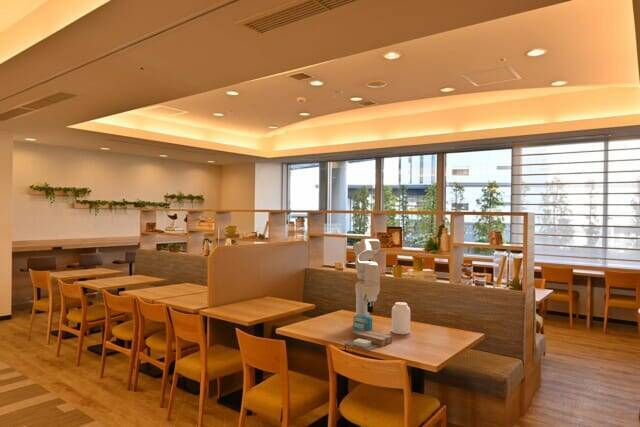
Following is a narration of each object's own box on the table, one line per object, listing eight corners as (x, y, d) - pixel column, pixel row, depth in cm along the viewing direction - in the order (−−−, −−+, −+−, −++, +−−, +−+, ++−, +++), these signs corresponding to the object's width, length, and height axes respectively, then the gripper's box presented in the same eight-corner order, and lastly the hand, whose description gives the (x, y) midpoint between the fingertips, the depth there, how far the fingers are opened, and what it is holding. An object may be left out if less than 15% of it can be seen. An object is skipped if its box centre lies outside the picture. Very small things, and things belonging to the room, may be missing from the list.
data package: (353, 333, 292) (353, 315, 291) (355, 331, 295) (356, 314, 295) (369, 336, 286) (369, 318, 286) (372, 334, 290) (372, 316, 289)
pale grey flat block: (353, 340, 266) (353, 344, 266) (365, 343, 261) (365, 347, 261) (359, 338, 271) (359, 342, 271) (371, 341, 265) (371, 345, 265)
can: (413, 332, 296) (414, 303, 296) (401, 335, 288) (402, 305, 288) (399, 328, 305) (400, 300, 305) (387, 331, 298) (388, 302, 297)
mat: (356, 339, 277) (356, 339, 277) (380, 346, 265) (380, 345, 265) (344, 344, 268) (344, 343, 268) (368, 350, 256) (368, 350, 256)
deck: (365, 335, 286) (365, 329, 286) (391, 342, 273) (392, 335, 273) (354, 339, 277) (355, 333, 277) (381, 346, 264) (381, 339, 264)
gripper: (372, 280, 280) (371, 309, 280) (358, 283, 269) (358, 313, 269) (382, 282, 275) (381, 311, 276) (368, 285, 264) (368, 315, 264)
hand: (370, 312), depth 272 cm, fingers closed
